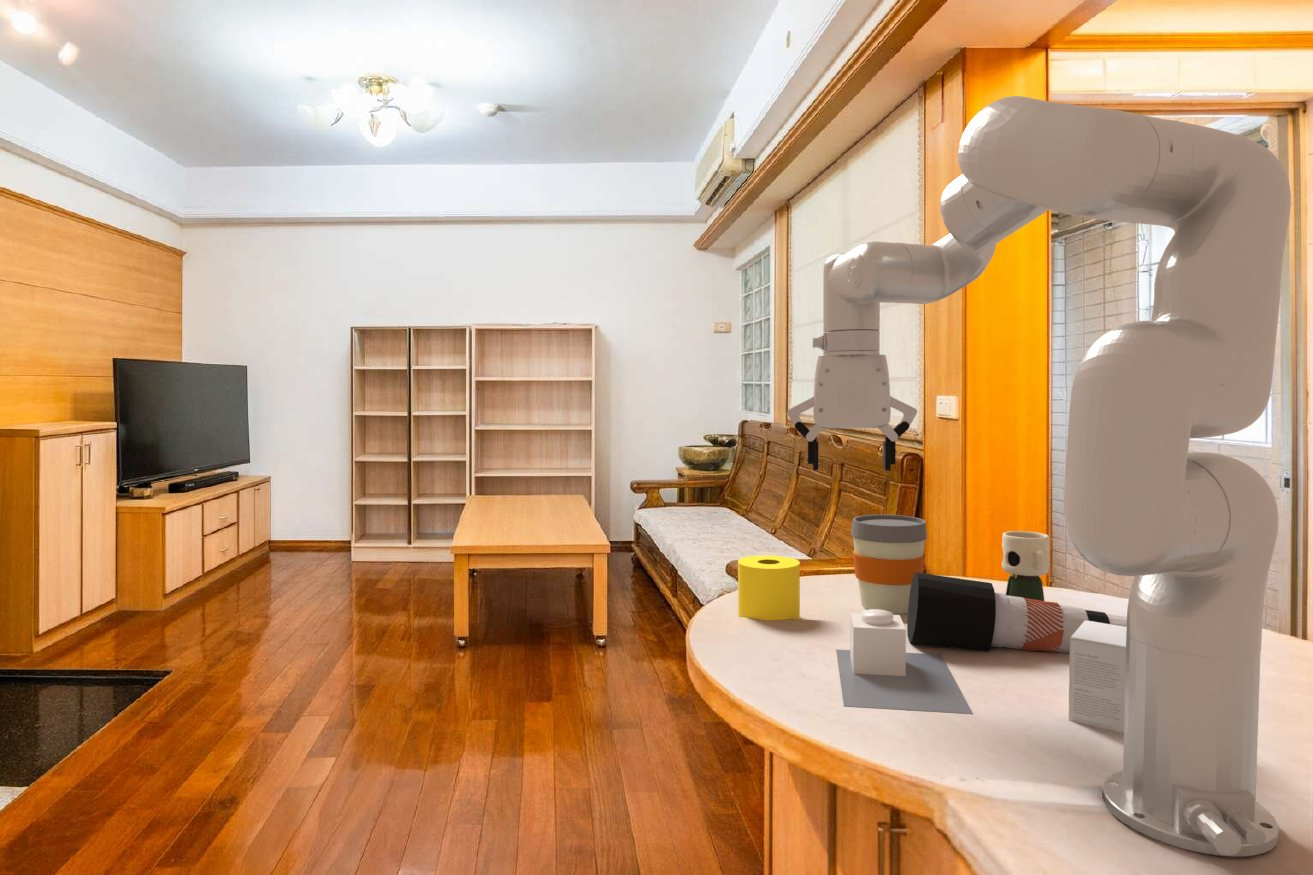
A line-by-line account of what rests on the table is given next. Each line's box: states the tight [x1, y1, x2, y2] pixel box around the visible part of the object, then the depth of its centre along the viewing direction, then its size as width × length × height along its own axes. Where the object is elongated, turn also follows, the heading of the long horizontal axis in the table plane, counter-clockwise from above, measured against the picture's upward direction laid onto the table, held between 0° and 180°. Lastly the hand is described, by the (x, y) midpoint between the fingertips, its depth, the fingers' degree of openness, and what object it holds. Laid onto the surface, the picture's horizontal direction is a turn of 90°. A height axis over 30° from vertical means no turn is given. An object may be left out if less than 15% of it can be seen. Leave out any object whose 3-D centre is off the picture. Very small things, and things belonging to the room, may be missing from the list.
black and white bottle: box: [906, 572, 1127, 656], centre depth 109 cm, size 10×34×10 cm
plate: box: [835, 649, 974, 715], centre depth 98 cm, size 20×14×1 cm
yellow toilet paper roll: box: [737, 555, 801, 621], centre depth 129 cm, size 10×10×9 cm
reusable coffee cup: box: [850, 514, 928, 615], centre depth 135 cm, size 13×13×15 cm
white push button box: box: [849, 609, 907, 676], centre depth 102 cm, size 6×6×7 cm
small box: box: [1068, 620, 1127, 734], centre depth 86 cm, size 8×6×10 cm
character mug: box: [1001, 530, 1050, 601], centre depth 131 cm, size 11×7×13 cm, turn 1°
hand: (850, 469), depth 108 cm, fingers open, 9 cm apart
